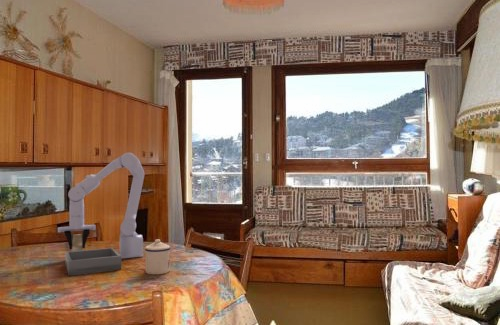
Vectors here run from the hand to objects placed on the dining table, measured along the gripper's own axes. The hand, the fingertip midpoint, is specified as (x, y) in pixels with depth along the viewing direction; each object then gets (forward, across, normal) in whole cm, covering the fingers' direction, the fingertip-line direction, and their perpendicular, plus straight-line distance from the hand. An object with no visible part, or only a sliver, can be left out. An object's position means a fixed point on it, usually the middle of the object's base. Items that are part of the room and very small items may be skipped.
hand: (77, 248), depth 174 cm
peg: (+2, 0, 0) cm, 2 cm away
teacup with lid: (+5, -24, +35) cm, 43 cm away
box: (+4, -4, +18) cm, 19 cm away
